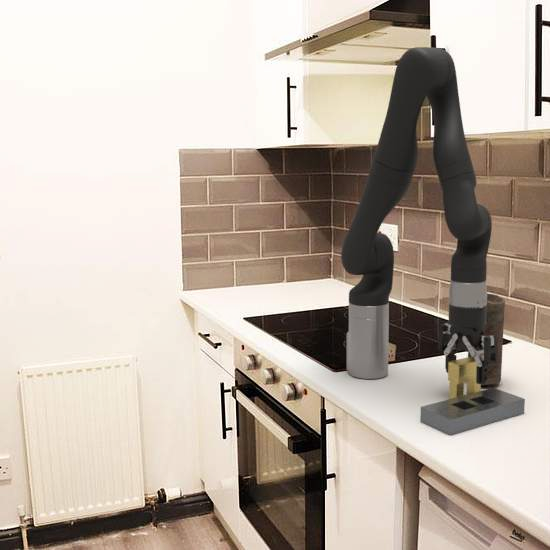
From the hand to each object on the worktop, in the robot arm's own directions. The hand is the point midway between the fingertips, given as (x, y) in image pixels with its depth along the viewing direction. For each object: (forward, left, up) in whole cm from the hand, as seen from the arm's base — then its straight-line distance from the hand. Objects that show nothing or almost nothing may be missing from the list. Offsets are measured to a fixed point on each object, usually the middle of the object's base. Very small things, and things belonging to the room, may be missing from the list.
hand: (465, 377), depth 146 cm
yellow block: (0, 0, -5) cm, 5 cm away
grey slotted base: (+8, -6, -5) cm, 11 cm away
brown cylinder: (-5, +11, -5) cm, 13 cm away
